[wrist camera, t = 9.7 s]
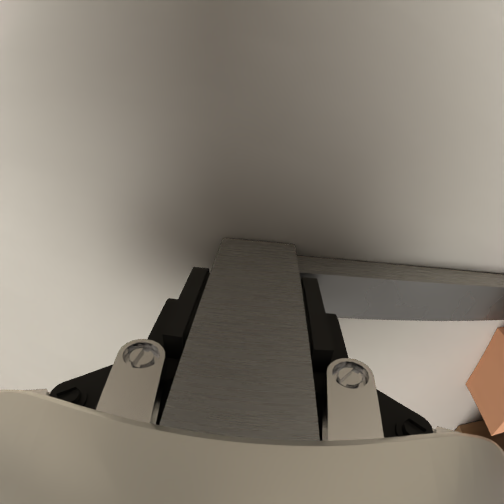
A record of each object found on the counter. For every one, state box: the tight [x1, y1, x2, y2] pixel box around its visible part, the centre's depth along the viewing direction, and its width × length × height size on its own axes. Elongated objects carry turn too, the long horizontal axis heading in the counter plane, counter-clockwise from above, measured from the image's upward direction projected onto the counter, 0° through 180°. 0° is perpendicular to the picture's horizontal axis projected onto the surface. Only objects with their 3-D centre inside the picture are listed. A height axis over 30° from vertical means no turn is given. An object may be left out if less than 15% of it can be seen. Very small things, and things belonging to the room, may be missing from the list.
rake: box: [159, 238, 504, 441], centre depth 10 cm, size 10×24×10 cm, turn 86°
